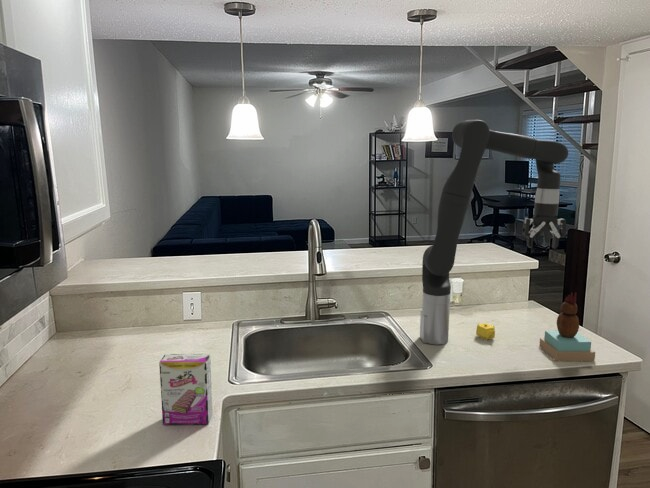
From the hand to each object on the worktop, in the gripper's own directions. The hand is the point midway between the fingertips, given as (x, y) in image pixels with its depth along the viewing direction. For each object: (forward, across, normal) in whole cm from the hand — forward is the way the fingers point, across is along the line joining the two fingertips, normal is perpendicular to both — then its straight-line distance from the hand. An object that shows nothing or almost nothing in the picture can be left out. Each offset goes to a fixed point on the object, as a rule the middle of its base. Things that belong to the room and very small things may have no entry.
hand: (542, 248), depth 170 cm
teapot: (+32, -18, -4) cm, 37 cm away
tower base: (+31, +2, -18) cm, 36 cm away
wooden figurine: (+26, +2, -18) cm, 31 cm away
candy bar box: (+34, -110, -56) cm, 128 cm away
